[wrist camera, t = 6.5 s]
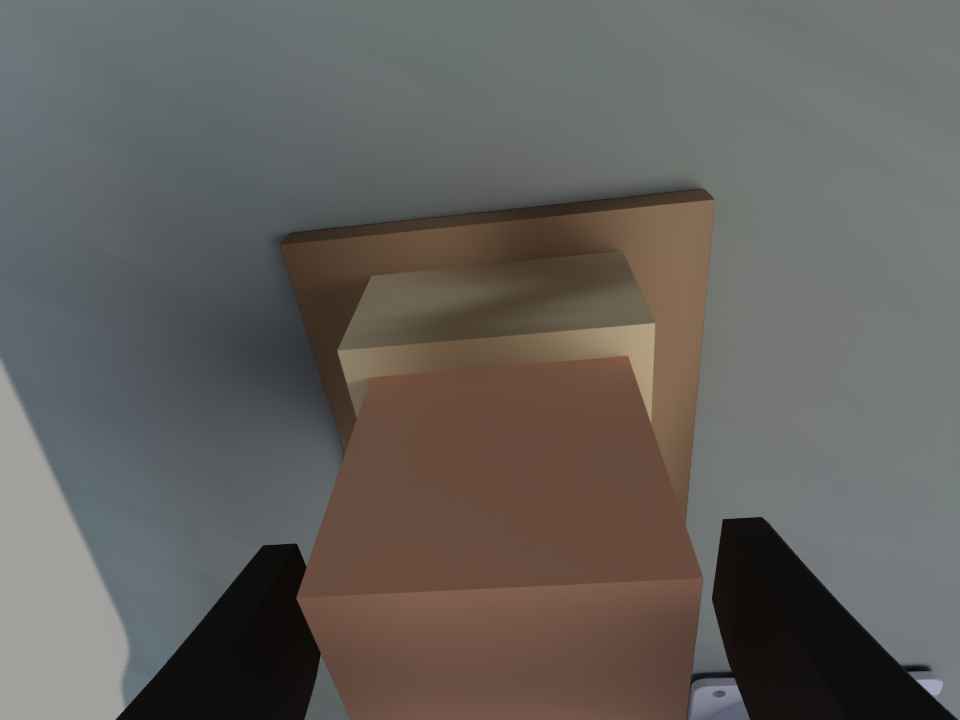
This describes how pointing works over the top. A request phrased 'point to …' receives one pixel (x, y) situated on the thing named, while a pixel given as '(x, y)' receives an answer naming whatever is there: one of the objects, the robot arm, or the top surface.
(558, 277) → the birch block
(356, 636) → the terracotta block
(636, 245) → the base plate
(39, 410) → the top surface
